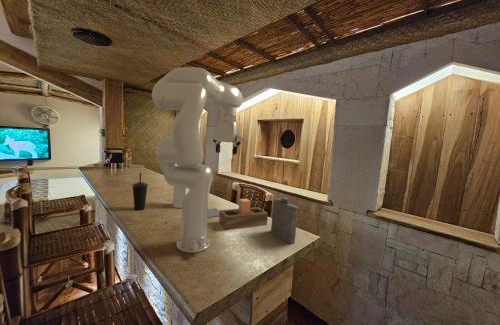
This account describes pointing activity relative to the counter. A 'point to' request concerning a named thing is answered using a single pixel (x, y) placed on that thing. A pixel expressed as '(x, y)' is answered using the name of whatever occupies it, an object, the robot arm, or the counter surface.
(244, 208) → the peg
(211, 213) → the mat
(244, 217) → the wooden compartment box
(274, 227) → the flask
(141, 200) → the drinking cup
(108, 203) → the counter surface
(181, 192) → the supplement box
